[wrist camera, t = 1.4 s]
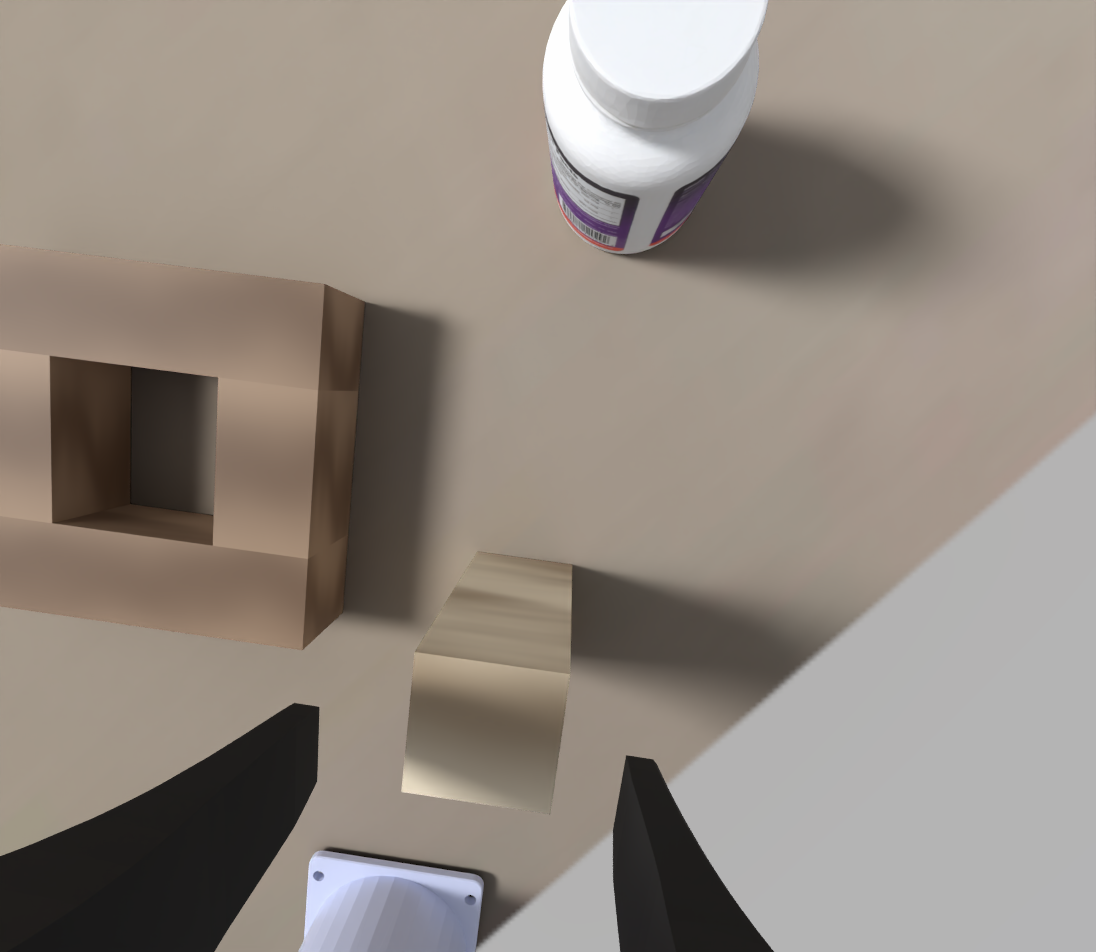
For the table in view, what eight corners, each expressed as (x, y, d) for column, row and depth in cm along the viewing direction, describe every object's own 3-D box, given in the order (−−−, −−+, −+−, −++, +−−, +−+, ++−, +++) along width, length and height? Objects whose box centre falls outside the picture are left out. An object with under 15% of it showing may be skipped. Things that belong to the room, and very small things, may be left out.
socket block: (342, 612, 23) (302, 650, 20) (52, 571, 24) (-37, 600, 20) (365, 301, 21) (324, 284, 18) (47, 262, 22) (-52, 237, 18)
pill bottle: (687, 88, 20) (793, -202, 10) (707, 241, 20) (824, 106, 11) (541, 120, 20) (509, -129, 11) (566, 269, 21) (558, 163, 11)
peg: (559, 654, 23) (550, 814, 14) (467, 640, 23) (401, 791, 14) (572, 564, 23) (570, 674, 14) (477, 551, 23) (414, 652, 14)
